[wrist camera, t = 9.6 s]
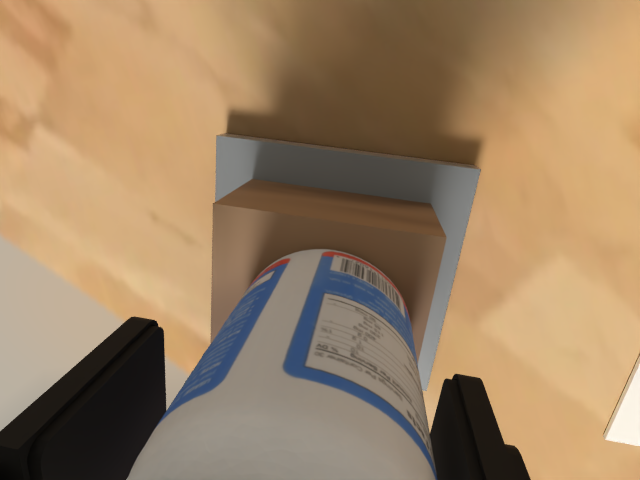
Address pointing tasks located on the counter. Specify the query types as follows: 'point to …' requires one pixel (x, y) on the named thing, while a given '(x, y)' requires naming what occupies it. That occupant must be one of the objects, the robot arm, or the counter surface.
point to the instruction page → (627, 413)
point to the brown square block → (324, 241)
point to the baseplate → (370, 179)
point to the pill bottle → (301, 384)
